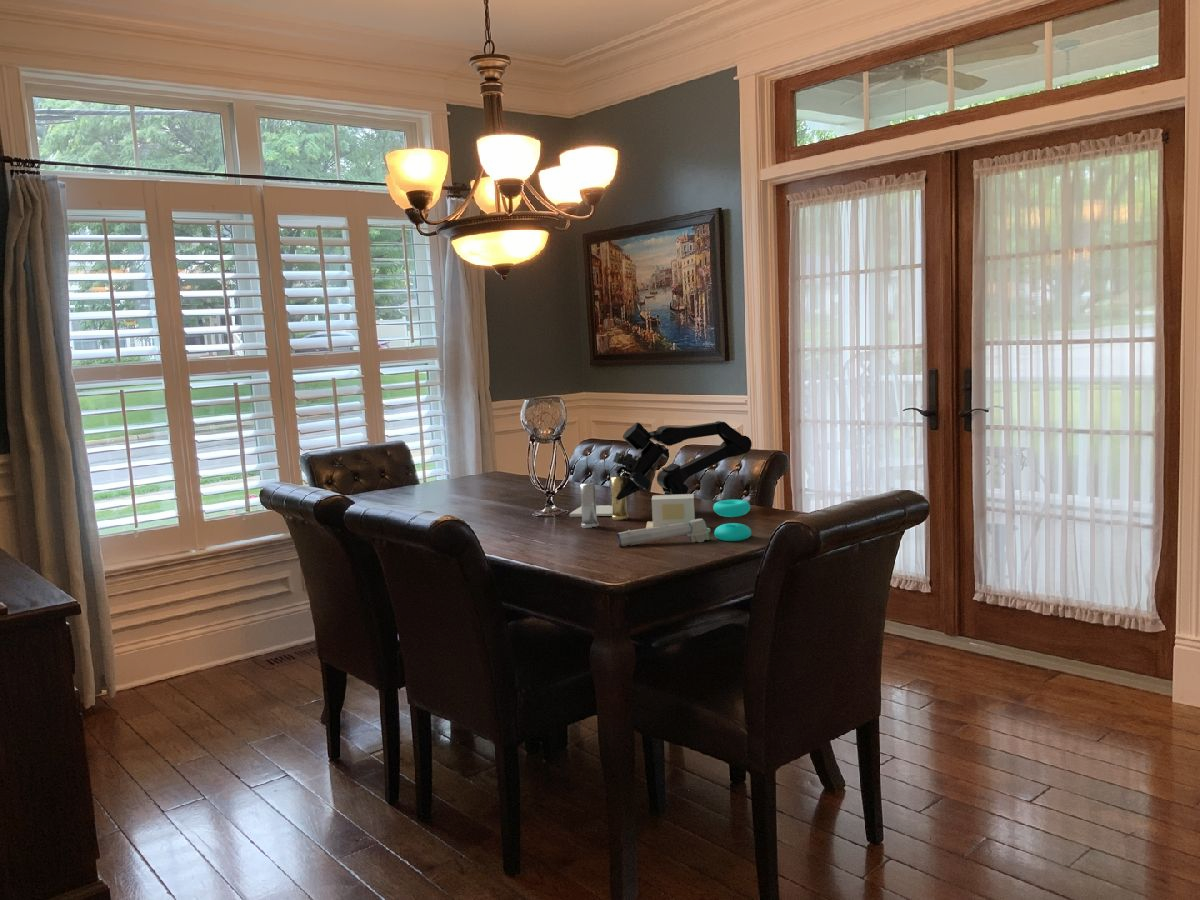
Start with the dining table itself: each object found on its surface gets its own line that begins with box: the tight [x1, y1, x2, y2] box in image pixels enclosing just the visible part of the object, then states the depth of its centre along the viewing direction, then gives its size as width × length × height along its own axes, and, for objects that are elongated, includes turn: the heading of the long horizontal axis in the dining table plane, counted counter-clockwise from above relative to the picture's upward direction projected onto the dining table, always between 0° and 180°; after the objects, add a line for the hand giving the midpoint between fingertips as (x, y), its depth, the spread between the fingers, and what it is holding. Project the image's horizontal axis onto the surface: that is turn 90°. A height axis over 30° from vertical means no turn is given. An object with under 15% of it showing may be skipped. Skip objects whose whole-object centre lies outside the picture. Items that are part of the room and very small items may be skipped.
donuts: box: [712, 499, 752, 542], centre depth 260 cm, size 10×10×10 cm
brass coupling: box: [610, 475, 629, 521], centre depth 295 cm, size 5×5×13 cm
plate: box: [568, 504, 613, 518], centre depth 308 cm, size 14×14×1 cm
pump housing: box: [645, 493, 696, 528], centre depth 278 cm, size 12×16×9 cm
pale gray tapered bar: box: [616, 518, 712, 547], centre depth 258 cm, size 5×7×25 cm
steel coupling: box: [579, 482, 599, 529], centre depth 285 cm, size 5×5×13 cm
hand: (614, 498), depth 295 cm, fingers closed on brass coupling, 4 cm apart
